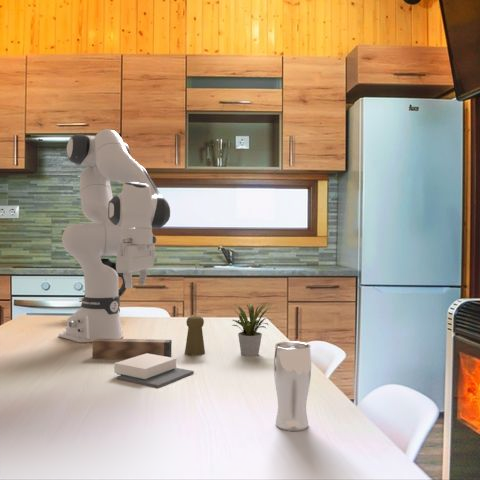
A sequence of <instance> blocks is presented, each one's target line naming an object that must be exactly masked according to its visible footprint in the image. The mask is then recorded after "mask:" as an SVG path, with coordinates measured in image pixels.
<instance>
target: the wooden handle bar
mask: <svg viewBox="0 0 480 480" xmlns="http://www.w3.org/2000/svg"><path fill="white" fill-rule="evenodd" d="M172 344H173V343H172V339H152V338H150V339H145V338H143V339H142V338H120V339H103V338H97V339H95V340H93V342H92V358H91V359H93V360H94V359H98V360H99V359H100V360H103V359H106V360H126V359H130V358H133V357H136V356H140V355H143V354H146V353H148V354H154V355H160V356H166V357H171V358H172Z"/></svg>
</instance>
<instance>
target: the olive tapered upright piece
mask: <svg viewBox="0 0 480 480" xmlns="http://www.w3.org/2000/svg"><path fill="white" fill-rule="evenodd" d="M204 323H205V319H204V318H203V317H202V316H201V315H200V316H199V315H191V316H188V317H187V319H186V326H187V327H188V328H187V336H186V343H185V349H184V354H185V355H189V356H201V355H204V354H206V350H205V341H204V335H203V334H204V333H203V326H204Z"/></svg>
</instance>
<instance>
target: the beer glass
mask: <svg viewBox="0 0 480 480" xmlns="http://www.w3.org/2000/svg"><path fill="white" fill-rule="evenodd" d="M274 346H275V347H274V358H273V377H274V384H275V391H276V397H277V413H276V418H275V426H276V427H277V428H278V429H280V430H283V431H289V432H300V431H304V430H305V429H307V428H308V427H309V420H308V414H307V401H308V395H309V390H310V384H311V378H312V377H311V376H312V354H311V345H310V344H308V343H306V342H301V341H281V342H277V343H275V345H274Z"/></svg>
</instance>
